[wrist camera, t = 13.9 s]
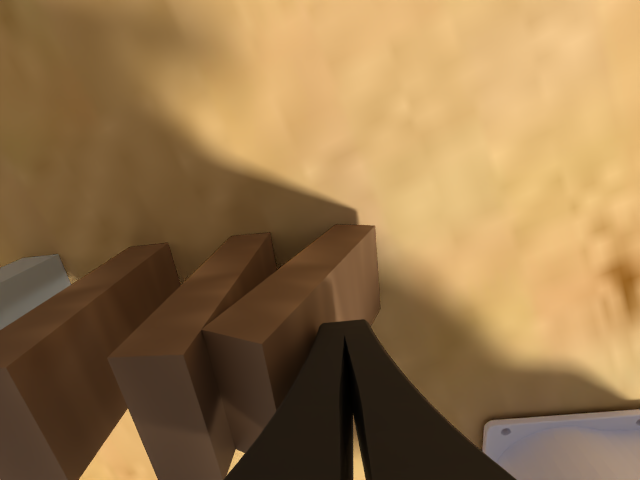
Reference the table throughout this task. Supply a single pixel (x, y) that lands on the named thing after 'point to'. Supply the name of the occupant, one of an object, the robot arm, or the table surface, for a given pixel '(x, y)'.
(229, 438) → the domino
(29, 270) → the domino
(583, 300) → the table surface
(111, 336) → the domino
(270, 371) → the domino
